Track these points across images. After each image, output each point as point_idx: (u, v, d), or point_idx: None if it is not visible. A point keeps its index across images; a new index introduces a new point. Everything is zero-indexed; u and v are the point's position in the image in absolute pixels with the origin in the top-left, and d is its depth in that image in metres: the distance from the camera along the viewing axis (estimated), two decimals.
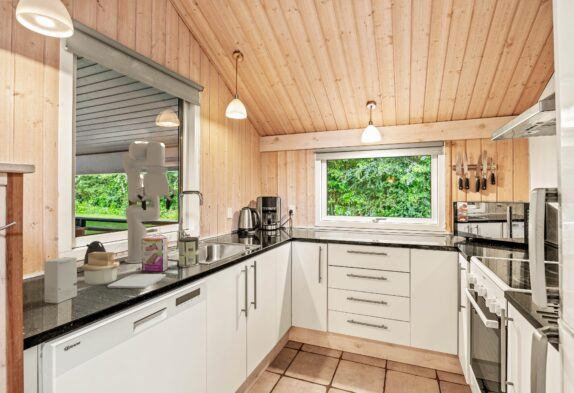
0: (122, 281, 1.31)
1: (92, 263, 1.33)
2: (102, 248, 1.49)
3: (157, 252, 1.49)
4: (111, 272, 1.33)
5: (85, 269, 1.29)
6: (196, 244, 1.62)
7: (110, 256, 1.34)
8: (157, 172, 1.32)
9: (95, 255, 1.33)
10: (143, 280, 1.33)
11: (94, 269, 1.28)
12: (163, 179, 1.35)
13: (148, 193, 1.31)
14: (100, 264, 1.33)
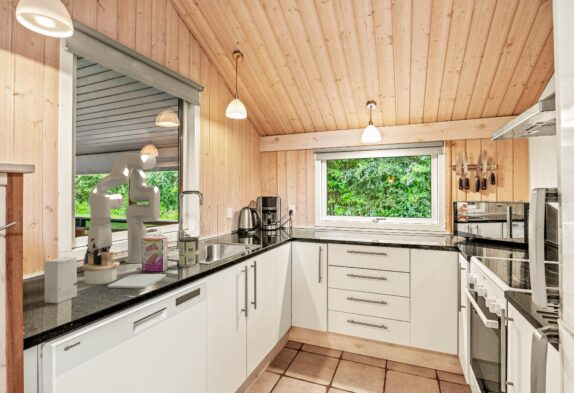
0: (122, 281, 1.31)
1: (92, 263, 1.33)
2: None
3: (157, 252, 1.49)
4: (111, 272, 1.33)
5: (85, 269, 1.29)
6: (196, 244, 1.62)
7: (110, 256, 1.34)
8: (108, 224, 1.34)
9: None
10: (143, 280, 1.33)
11: (94, 269, 1.28)
12: (109, 229, 1.37)
13: (99, 245, 1.31)
14: None
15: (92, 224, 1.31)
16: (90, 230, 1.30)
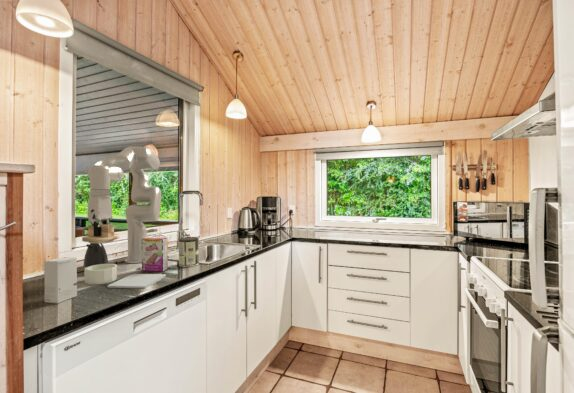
0: (122, 281, 1.31)
1: (92, 235, 1.33)
2: (102, 248, 1.49)
3: (157, 252, 1.49)
4: (111, 272, 1.33)
5: (85, 240, 1.29)
6: (196, 244, 1.62)
7: (110, 228, 1.34)
8: (108, 196, 1.34)
9: None
10: (143, 280, 1.33)
11: (94, 240, 1.28)
12: (109, 202, 1.37)
13: (99, 217, 1.31)
14: None
15: (92, 195, 1.31)
16: (90, 201, 1.30)
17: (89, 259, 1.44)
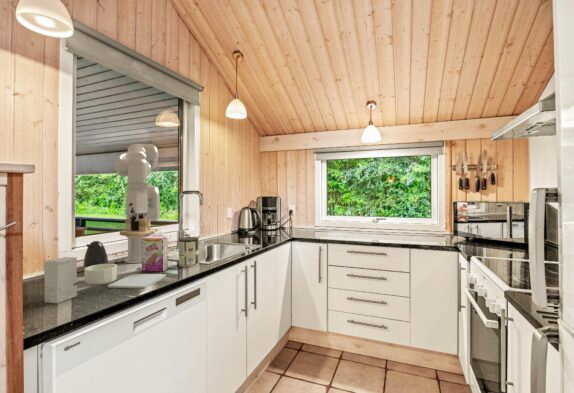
0: (122, 281, 1.31)
1: (129, 229, 1.32)
2: (102, 248, 1.49)
3: (157, 252, 1.49)
4: (111, 272, 1.33)
5: (123, 234, 1.27)
6: (196, 244, 1.62)
7: (147, 222, 1.33)
8: (145, 190, 1.32)
9: None
10: (143, 280, 1.33)
11: (133, 234, 1.27)
12: (146, 196, 1.36)
13: (137, 211, 1.30)
14: None
15: (130, 189, 1.30)
16: (128, 195, 1.29)
17: (89, 259, 1.44)
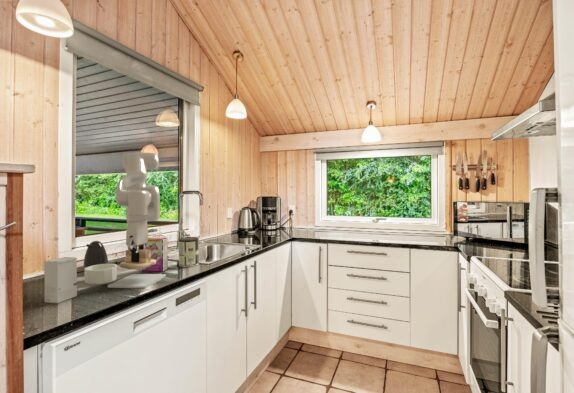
0: (122, 281, 1.31)
1: (130, 260, 1.32)
2: (102, 248, 1.49)
3: (157, 252, 1.49)
4: (111, 272, 1.33)
5: (124, 266, 1.27)
6: (196, 244, 1.62)
7: (147, 253, 1.33)
8: (145, 221, 1.33)
9: None
10: (143, 280, 1.33)
11: (133, 266, 1.27)
12: (146, 227, 1.36)
13: (138, 243, 1.30)
14: None
15: (130, 221, 1.30)
16: (128, 227, 1.29)
17: (89, 259, 1.44)
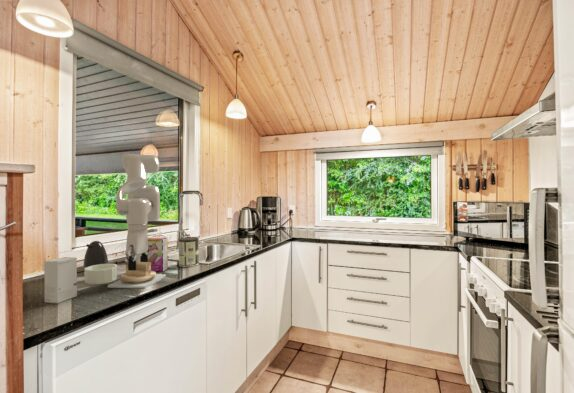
0: (122, 281, 1.31)
1: (130, 273, 1.32)
2: (102, 248, 1.49)
3: (157, 252, 1.49)
4: (111, 272, 1.33)
5: (124, 280, 1.28)
6: (196, 244, 1.62)
7: (148, 266, 1.33)
8: (145, 230, 1.33)
9: None
10: None
11: (133, 280, 1.27)
12: (146, 235, 1.36)
13: (138, 252, 1.30)
14: (138, 274, 1.32)
15: (130, 230, 1.30)
16: (129, 236, 1.29)
17: (89, 259, 1.44)
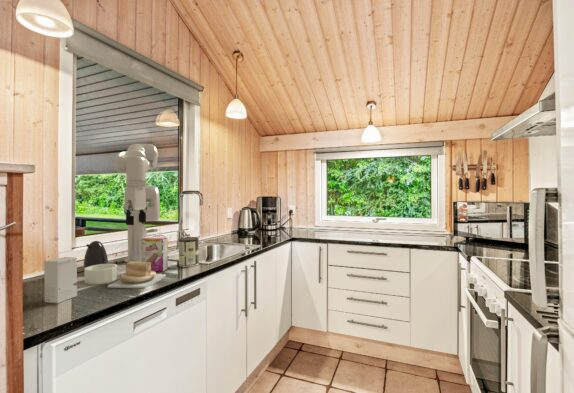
0: (122, 281, 1.31)
1: (130, 273, 1.32)
2: (102, 248, 1.49)
3: (157, 252, 1.49)
4: (111, 272, 1.33)
5: (124, 280, 1.28)
6: (196, 244, 1.62)
7: (148, 266, 1.33)
8: (143, 187, 1.34)
9: (133, 265, 1.32)
10: None
11: (133, 280, 1.27)
12: (144, 193, 1.38)
13: (136, 207, 1.32)
14: (138, 274, 1.32)
15: (128, 186, 1.32)
16: (127, 192, 1.31)
17: (89, 259, 1.44)
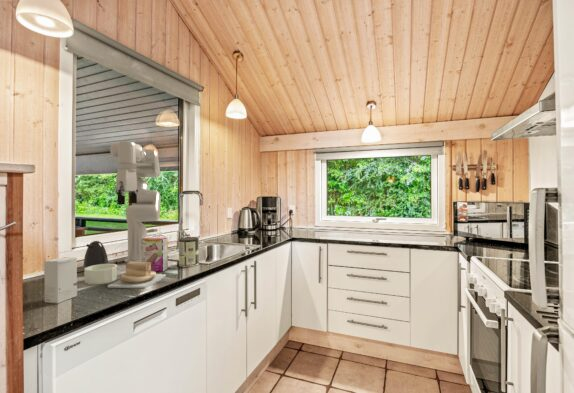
0: (122, 281, 1.31)
1: (130, 273, 1.32)
2: (102, 248, 1.49)
3: (157, 252, 1.49)
4: (111, 272, 1.33)
5: (124, 280, 1.28)
6: (196, 244, 1.62)
7: (148, 266, 1.33)
8: (134, 170, 1.45)
9: (133, 265, 1.32)
10: None
11: (133, 280, 1.27)
12: (135, 176, 1.48)
13: (127, 188, 1.42)
14: (138, 274, 1.32)
15: (120, 168, 1.42)
16: (118, 174, 1.41)
17: (89, 259, 1.44)
